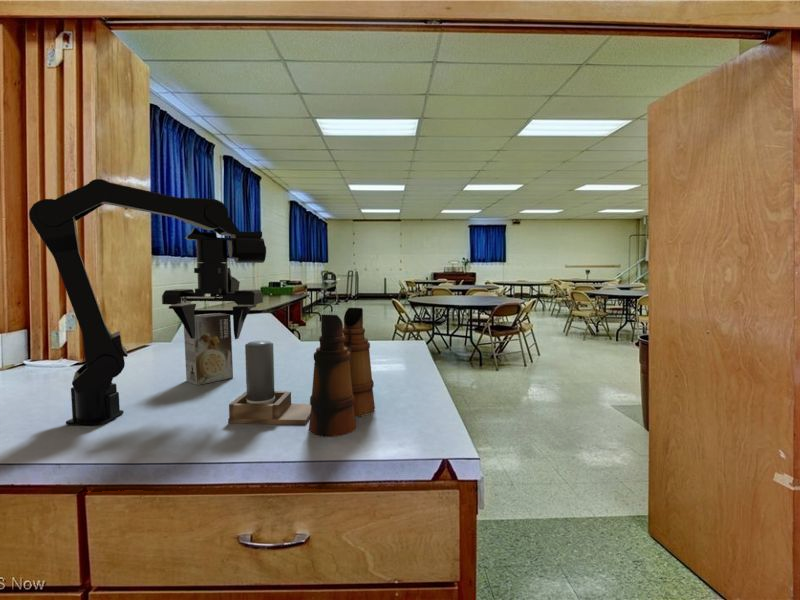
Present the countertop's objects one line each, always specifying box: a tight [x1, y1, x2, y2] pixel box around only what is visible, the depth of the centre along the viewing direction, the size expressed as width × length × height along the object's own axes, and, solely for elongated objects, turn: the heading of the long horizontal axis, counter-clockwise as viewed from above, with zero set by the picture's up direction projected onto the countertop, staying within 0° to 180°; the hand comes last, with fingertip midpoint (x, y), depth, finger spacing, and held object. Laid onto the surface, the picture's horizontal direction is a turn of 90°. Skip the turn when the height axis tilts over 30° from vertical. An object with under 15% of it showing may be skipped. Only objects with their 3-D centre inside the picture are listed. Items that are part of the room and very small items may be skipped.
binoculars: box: [308, 307, 376, 438], centre depth 81 cm, size 18×8×20 cm, turn 164°
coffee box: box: [183, 312, 234, 386], centre depth 107 cm, size 9×6×16 cm
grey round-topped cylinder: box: [244, 340, 276, 404], centre depth 82 cm, size 5×5×13 cm
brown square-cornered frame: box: [227, 390, 311, 425], centre depth 82 cm, size 14×9×3 cm, turn 88°
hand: (214, 338), depth 90 cm, fingers open, 9 cm apart
